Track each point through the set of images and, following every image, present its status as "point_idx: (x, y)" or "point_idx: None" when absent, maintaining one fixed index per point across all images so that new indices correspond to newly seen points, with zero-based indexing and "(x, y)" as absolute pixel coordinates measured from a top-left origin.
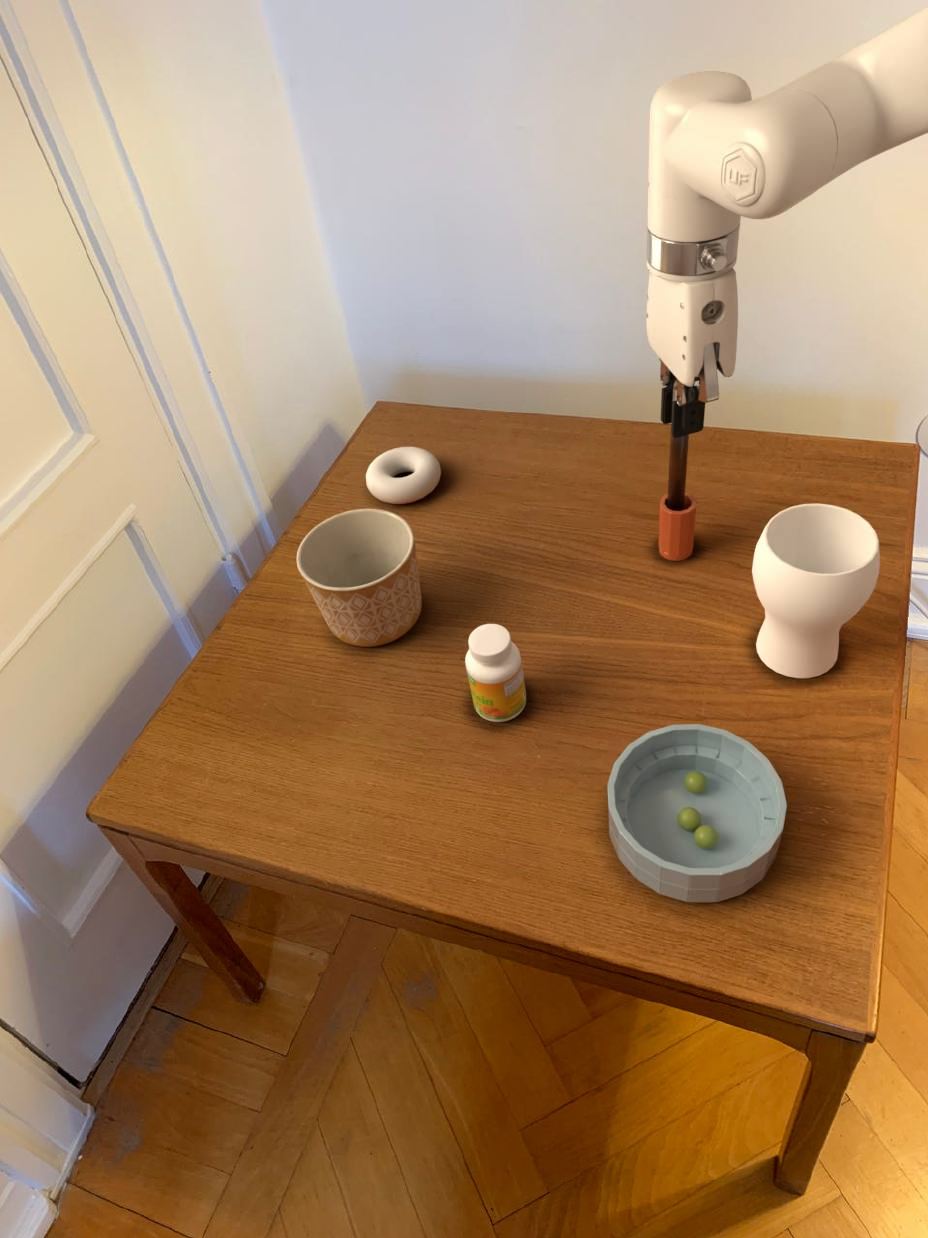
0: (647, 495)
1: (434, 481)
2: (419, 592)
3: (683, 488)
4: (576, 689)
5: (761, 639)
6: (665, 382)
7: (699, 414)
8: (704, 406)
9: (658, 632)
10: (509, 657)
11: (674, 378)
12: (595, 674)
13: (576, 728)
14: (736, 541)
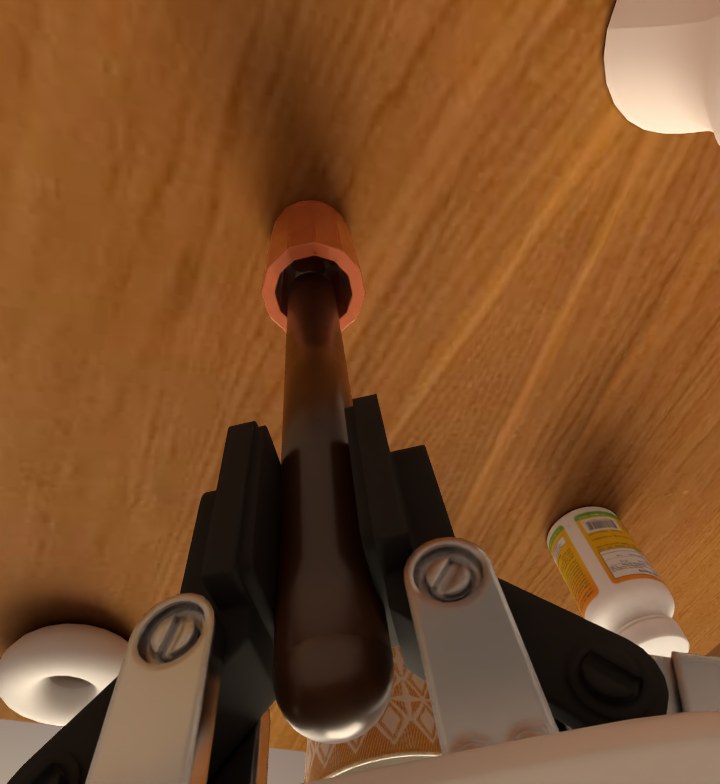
0: (100, 270)
1: (93, 642)
2: (397, 652)
3: (334, 310)
4: (600, 446)
5: (688, 132)
6: (268, 722)
7: (441, 497)
8: (394, 478)
9: (535, 314)
10: (657, 606)
11: (252, 705)
12: (584, 420)
13: (666, 449)
14: (302, 75)
